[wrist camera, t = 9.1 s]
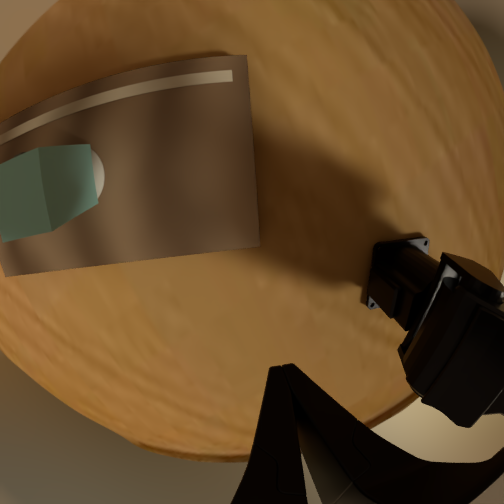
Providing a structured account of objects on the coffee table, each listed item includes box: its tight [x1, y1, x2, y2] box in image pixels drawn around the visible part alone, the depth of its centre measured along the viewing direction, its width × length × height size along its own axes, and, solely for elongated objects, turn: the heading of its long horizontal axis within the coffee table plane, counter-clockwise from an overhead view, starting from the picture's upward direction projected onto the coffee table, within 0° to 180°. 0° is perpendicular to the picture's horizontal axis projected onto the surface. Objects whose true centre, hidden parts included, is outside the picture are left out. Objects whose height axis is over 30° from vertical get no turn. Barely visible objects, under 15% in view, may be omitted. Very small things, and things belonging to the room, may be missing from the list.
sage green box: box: [0, 144, 98, 243], centre depth 12 cm, size 4×4×6 cm
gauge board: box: [0, 55, 260, 277], centre depth 14 cm, size 24×13×5 cm, turn 93°
